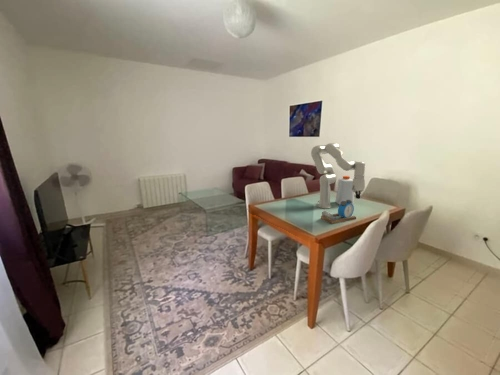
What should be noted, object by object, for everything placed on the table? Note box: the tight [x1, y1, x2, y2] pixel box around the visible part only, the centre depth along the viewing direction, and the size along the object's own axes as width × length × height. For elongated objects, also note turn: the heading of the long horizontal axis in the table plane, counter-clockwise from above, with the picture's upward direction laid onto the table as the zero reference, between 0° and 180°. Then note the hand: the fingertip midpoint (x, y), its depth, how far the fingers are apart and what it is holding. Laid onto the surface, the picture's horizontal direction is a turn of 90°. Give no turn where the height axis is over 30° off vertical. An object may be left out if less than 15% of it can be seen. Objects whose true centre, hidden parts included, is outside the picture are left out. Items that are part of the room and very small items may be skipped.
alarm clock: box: [337, 200, 355, 218], centre depth 186 cm, size 13×6×15 cm, turn 120°
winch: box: [320, 210, 337, 225], centre depth 179 cm, size 16×5×8 cm, turn 21°
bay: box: [334, 212, 357, 224], centre depth 185 cm, size 13×22×2 cm, turn 112°
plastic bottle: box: [335, 175, 355, 206], centre depth 222 cm, size 15×15×28 cm
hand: (357, 198), depth 188 cm, fingers closed
